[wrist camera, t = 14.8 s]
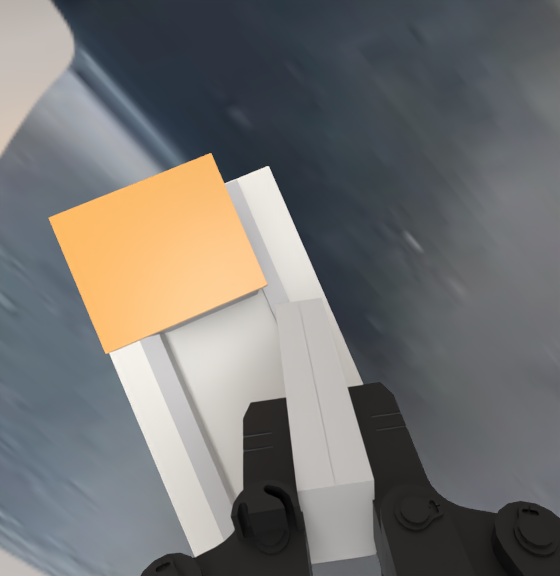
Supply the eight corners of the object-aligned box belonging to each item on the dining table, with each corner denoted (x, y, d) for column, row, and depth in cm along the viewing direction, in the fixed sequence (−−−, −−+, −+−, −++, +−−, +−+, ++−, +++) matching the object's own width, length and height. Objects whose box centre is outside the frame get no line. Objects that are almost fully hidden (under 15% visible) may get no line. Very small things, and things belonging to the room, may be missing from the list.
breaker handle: (261, 295, 28) (267, 284, 16) (168, 335, 28) (105, 353, 16) (228, 218, 28) (211, 152, 17) (134, 257, 28) (48, 217, 16)
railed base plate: (396, 468, 30) (411, 486, 27) (204, 559, 29) (198, 588, 26) (267, 173, 30) (269, 157, 27) (74, 251, 29) (54, 244, 26)
